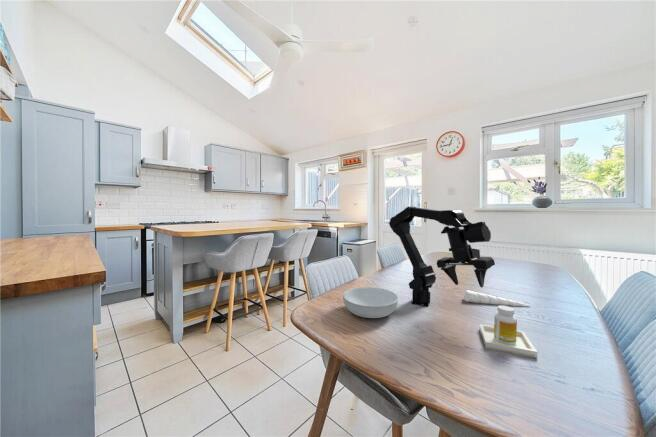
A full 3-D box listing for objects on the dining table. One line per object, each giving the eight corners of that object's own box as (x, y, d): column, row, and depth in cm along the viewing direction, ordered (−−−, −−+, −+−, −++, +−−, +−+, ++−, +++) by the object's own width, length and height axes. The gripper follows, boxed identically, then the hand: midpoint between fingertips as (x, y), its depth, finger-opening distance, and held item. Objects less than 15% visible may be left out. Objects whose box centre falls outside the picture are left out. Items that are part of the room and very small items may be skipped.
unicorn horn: (535, 311, 94) (535, 299, 94) (465, 303, 103) (465, 292, 103) (530, 306, 99) (530, 294, 98) (463, 299, 107) (463, 288, 107)
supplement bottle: (521, 343, 71) (522, 311, 70) (505, 346, 70) (506, 312, 69) (504, 334, 76) (505, 303, 75) (489, 336, 75) (490, 305, 74)
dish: (485, 348, 70) (485, 342, 70) (479, 329, 80) (479, 324, 80) (537, 358, 65) (537, 351, 65) (523, 337, 75) (523, 331, 75)
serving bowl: (407, 311, 94) (408, 294, 94) (379, 332, 79) (379, 311, 78) (363, 298, 108) (363, 282, 108) (331, 313, 93) (331, 295, 93)
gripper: (497, 237, 85) (508, 281, 84) (448, 240, 101) (457, 277, 101) (479, 244, 80) (491, 291, 79) (431, 246, 96) (441, 286, 95)
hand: (469, 285), depth 89 cm, fingers open, 9 cm apart
